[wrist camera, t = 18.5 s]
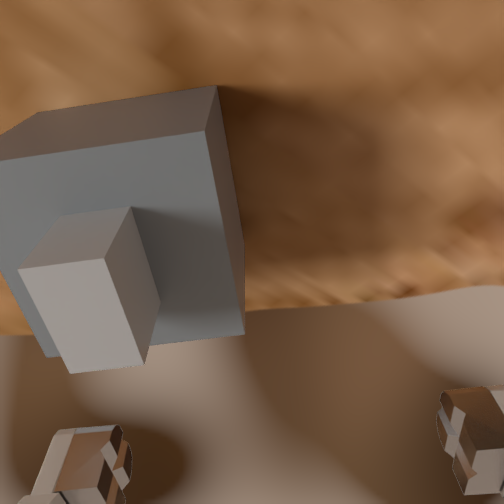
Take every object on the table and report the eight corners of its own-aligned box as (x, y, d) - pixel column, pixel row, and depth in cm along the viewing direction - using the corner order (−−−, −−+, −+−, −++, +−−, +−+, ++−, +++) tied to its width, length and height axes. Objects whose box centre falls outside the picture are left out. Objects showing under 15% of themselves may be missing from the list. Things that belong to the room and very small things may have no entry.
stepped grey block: (216, 85, 24) (193, 169, 13) (244, 244, 29) (245, 399, 18) (37, 112, 24) (-130, 214, 14) (96, 263, 30) (10, 425, 19)
